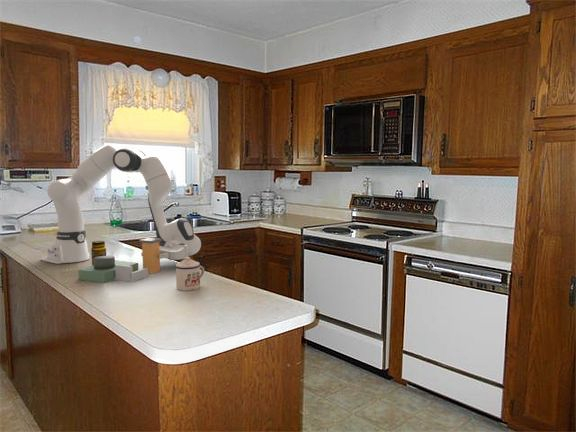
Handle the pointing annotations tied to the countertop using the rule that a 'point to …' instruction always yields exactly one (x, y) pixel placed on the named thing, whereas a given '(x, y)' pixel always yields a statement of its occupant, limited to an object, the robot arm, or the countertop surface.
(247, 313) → the countertop surface
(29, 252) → the countertop surface
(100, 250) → the condiment
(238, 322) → the countertop surface
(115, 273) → the green base with knob
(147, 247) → the gray-capped orange pillar
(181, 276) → the teacup with lid
